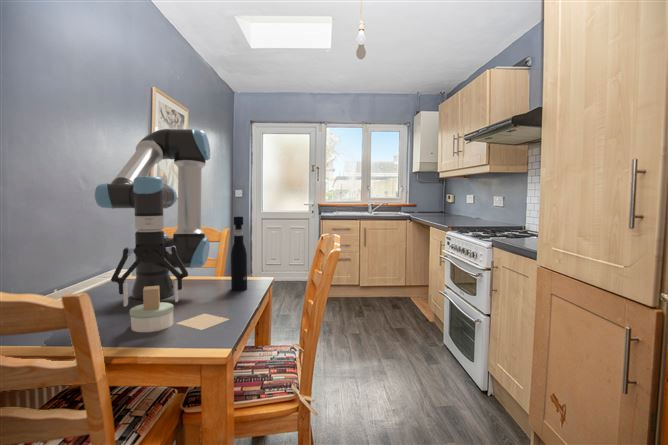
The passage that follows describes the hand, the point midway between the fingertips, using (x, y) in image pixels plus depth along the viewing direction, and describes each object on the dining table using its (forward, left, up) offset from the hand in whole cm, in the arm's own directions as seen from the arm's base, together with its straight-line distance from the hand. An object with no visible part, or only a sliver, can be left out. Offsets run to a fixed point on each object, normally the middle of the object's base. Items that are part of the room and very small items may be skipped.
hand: (151, 303), depth 114 cm
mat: (+10, +10, -8) cm, 16 cm away
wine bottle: (-11, +48, -8) cm, 50 cm away
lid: (0, 0, -3) cm, 3 cm away
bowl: (0, 0, -8) cm, 8 cm away
